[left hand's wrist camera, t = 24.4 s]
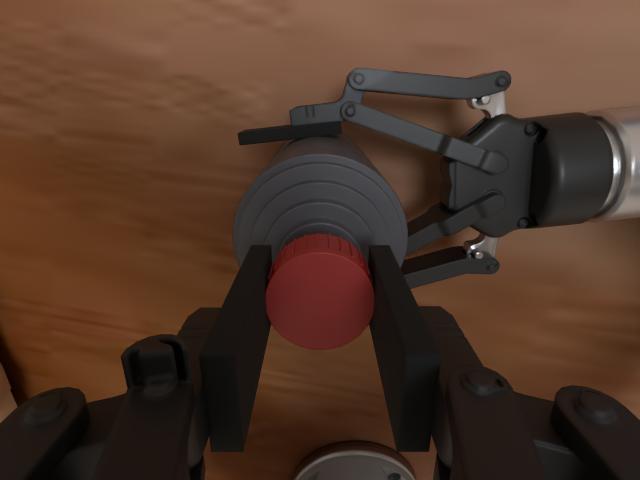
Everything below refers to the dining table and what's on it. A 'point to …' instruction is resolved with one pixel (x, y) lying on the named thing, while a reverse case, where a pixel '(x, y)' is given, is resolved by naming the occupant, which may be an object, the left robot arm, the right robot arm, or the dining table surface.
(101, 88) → the dining table surface
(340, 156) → the bottle
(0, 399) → the squash
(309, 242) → the cap
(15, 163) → the dining table surface
